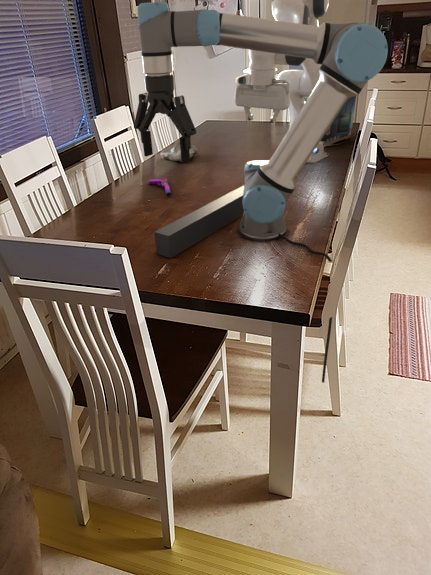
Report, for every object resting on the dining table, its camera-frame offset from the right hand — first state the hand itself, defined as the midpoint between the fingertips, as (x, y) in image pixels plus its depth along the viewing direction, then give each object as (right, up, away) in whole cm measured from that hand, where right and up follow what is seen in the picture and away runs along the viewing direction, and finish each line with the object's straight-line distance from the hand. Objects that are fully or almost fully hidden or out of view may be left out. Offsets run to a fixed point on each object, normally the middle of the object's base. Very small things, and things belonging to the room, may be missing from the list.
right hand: (261, 121), depth 161 cm
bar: (-14, -36, -2) cm, 38 cm away
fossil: (-35, +6, +69) cm, 77 cm away
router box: (+42, +19, +84) cm, 96 cm away
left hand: (-30, -23, -34) cm, 51 cm away
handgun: (-39, -17, +30) cm, 52 cm away
